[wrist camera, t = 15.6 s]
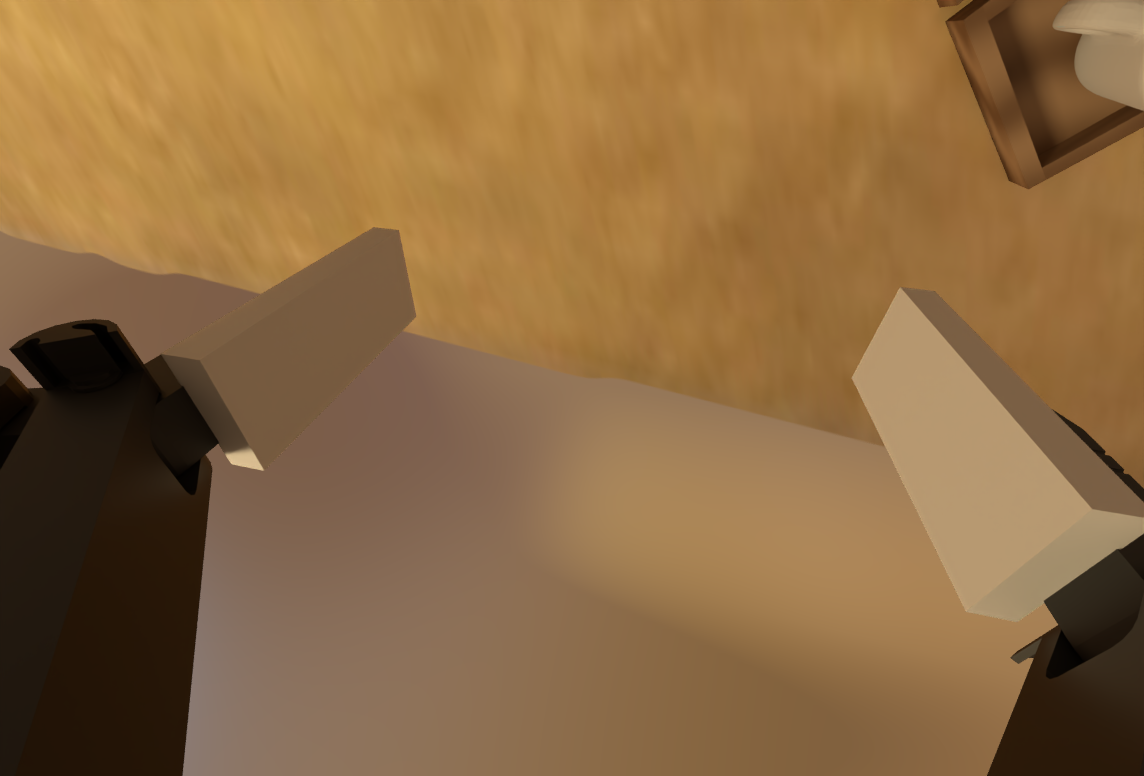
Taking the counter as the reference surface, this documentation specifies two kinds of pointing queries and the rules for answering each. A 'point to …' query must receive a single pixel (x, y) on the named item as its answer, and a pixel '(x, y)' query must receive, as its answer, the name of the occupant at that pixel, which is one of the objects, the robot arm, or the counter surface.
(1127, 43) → the cup
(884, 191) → the counter surface
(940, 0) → the tray
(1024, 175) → the tray
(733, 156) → the counter surface
